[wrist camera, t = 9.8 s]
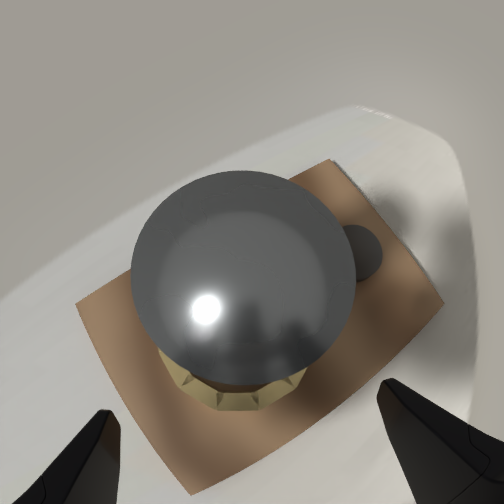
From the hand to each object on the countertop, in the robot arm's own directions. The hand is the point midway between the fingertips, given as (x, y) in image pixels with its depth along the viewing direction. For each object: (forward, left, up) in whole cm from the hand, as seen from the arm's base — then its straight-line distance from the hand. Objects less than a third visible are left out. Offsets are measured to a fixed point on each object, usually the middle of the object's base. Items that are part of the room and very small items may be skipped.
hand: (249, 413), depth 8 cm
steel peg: (+2, -3, -8) cm, 8 cm away
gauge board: (+1, -5, -9) cm, 10 cm away
